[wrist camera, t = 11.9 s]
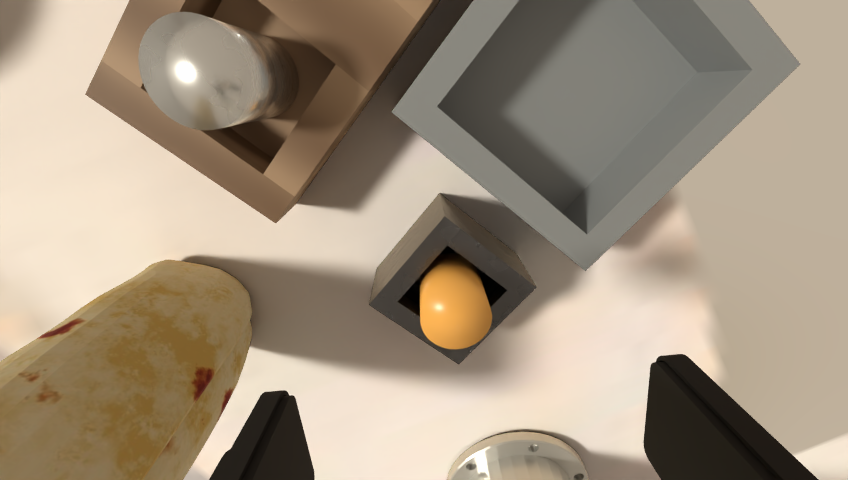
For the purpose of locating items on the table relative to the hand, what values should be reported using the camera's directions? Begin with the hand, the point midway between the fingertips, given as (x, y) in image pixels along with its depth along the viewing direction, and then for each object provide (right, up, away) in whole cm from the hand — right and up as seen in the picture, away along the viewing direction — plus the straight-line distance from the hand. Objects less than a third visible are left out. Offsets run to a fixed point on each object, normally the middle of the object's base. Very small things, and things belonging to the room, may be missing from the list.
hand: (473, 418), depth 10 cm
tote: (+7, +14, +13) cm, 21 cm away
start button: (0, +2, +15) cm, 15 cm away
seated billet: (-11, +14, +12) cm, 21 cm away
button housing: (0, +3, +17) cm, 18 cm away
